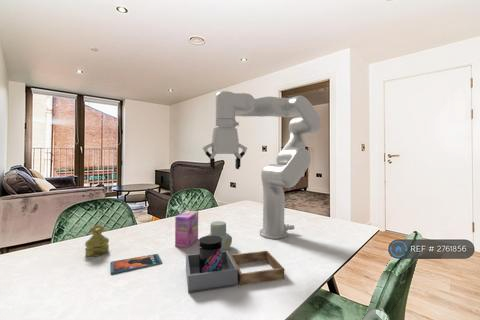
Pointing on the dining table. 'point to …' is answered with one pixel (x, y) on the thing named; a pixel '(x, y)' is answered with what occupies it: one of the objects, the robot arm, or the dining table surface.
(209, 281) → the bin
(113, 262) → the smartphone
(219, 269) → the supplement container
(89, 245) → the olive green tiered piece
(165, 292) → the dining table surface
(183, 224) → the box
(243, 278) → the frame
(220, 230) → the air freshener
